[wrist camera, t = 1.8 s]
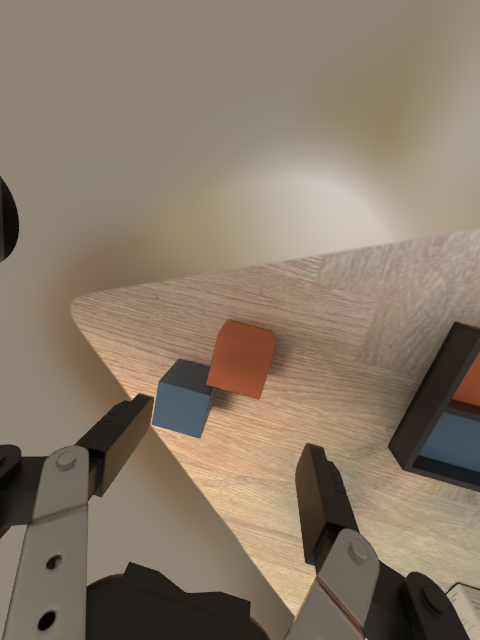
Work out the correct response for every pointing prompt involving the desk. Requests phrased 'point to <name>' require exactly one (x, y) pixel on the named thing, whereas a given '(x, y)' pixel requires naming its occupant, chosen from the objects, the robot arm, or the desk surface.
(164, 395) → the slate block
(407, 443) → the sorting tray
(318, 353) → the desk surface
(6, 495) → the robot arm
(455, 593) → the ink box
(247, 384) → the terracotta block
